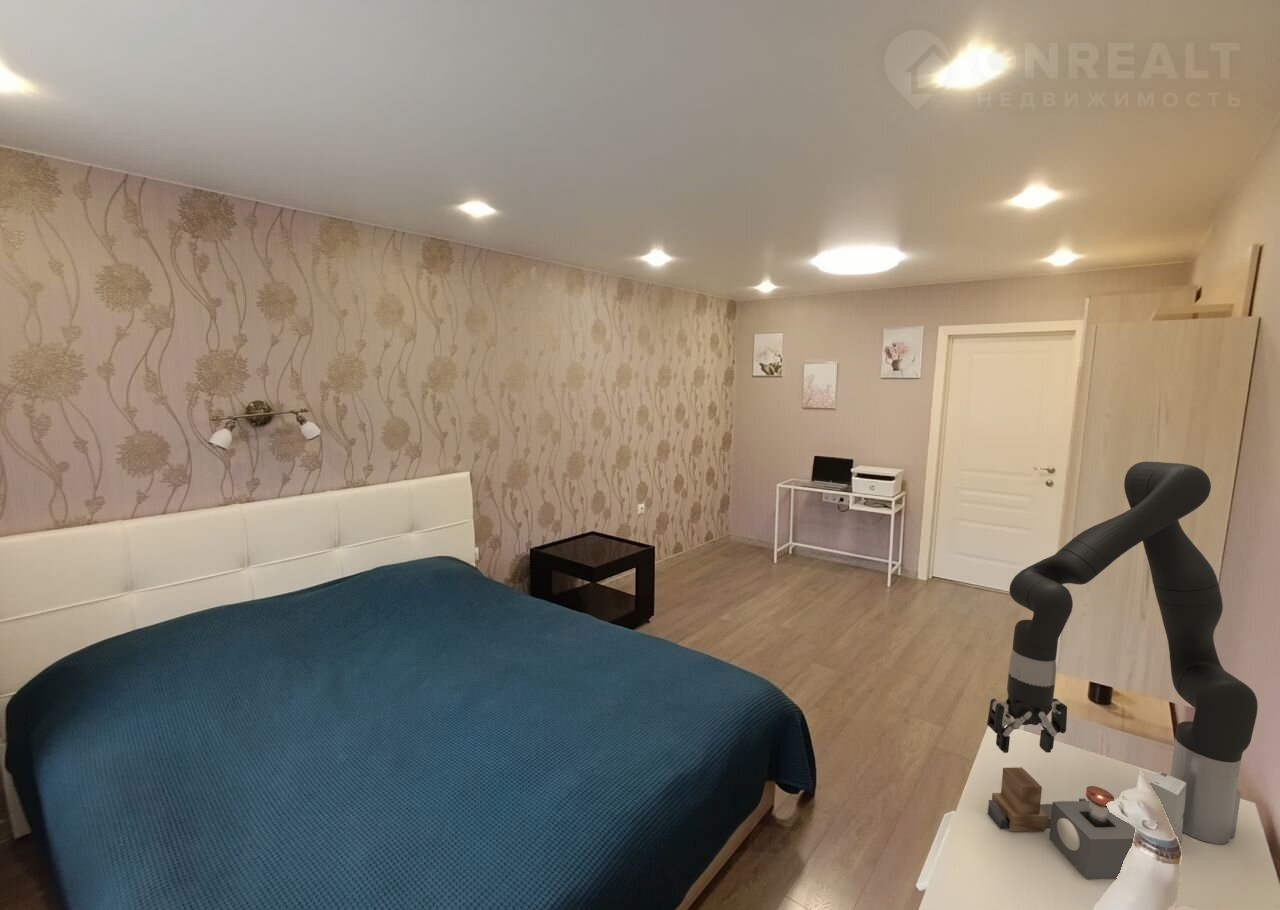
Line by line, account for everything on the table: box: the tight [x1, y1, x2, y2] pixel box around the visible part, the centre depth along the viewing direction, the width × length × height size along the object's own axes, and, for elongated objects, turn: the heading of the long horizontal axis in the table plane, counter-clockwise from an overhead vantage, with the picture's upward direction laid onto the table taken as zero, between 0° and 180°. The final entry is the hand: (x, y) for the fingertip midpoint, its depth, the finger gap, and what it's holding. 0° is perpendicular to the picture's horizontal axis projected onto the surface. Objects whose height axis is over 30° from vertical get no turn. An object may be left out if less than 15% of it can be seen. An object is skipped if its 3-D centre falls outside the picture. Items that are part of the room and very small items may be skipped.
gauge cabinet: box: [1048, 800, 1136, 880], centre depth 104 cm, size 10×9×8 cm
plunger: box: [1085, 785, 1115, 827], centre depth 103 cm, size 4×4×7 cm
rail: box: [987, 798, 1087, 830], centre depth 113 cm, size 20×4×3 cm, turn 91°
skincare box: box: [1149, 771, 1187, 843], centre depth 108 cm, size 6×4×12 cm
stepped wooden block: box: [991, 766, 1048, 832], centre depth 113 cm, size 7×6×9 cm
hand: (1023, 750), depth 112 cm, fingers open, 8 cm apart
